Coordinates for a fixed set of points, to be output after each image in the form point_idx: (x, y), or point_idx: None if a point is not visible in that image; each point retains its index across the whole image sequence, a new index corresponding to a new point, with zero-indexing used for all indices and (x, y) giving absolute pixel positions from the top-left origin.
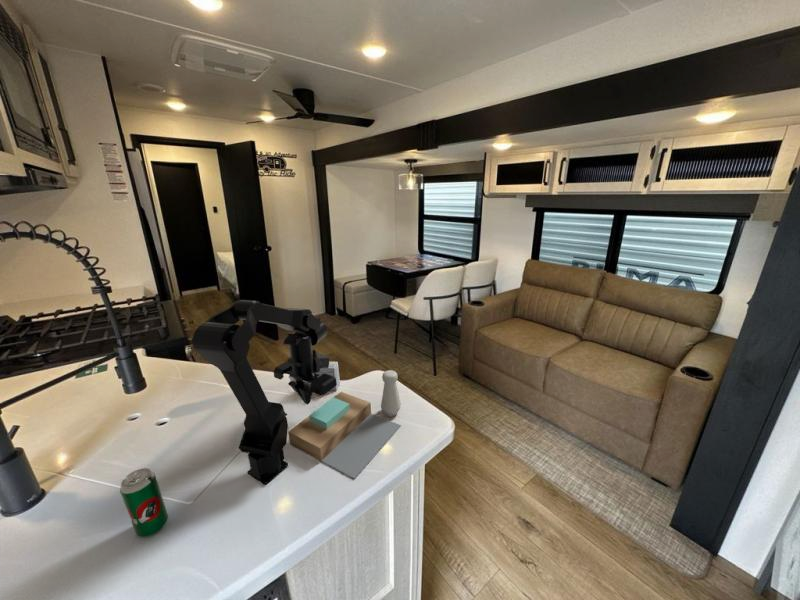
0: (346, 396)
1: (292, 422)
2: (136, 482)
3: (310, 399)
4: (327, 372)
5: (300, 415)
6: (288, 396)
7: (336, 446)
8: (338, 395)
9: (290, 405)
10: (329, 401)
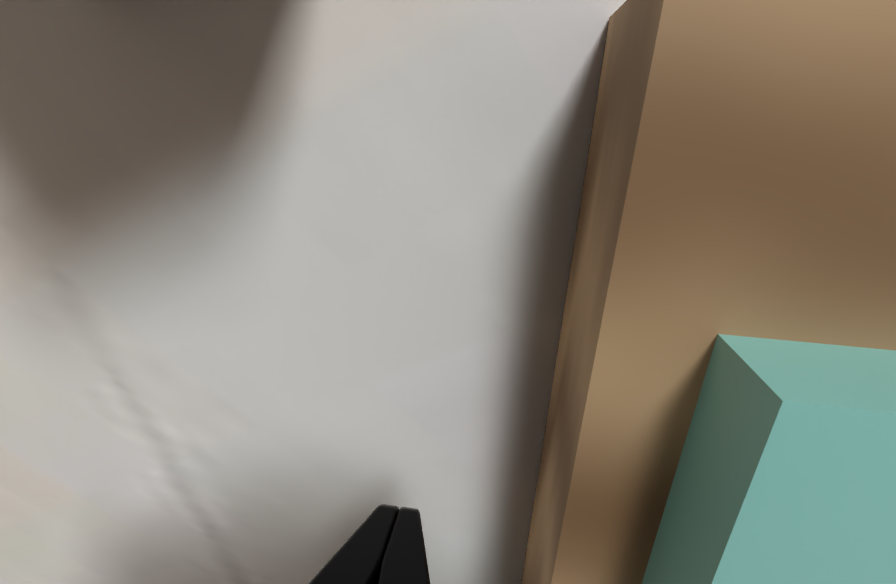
0: (886, 56)
1: (355, 470)
2: None
3: (426, 562)
4: None
5: (341, 390)
6: (3, 225)
7: None
8: (690, 112)
9: (150, 322)
10: (775, 514)
